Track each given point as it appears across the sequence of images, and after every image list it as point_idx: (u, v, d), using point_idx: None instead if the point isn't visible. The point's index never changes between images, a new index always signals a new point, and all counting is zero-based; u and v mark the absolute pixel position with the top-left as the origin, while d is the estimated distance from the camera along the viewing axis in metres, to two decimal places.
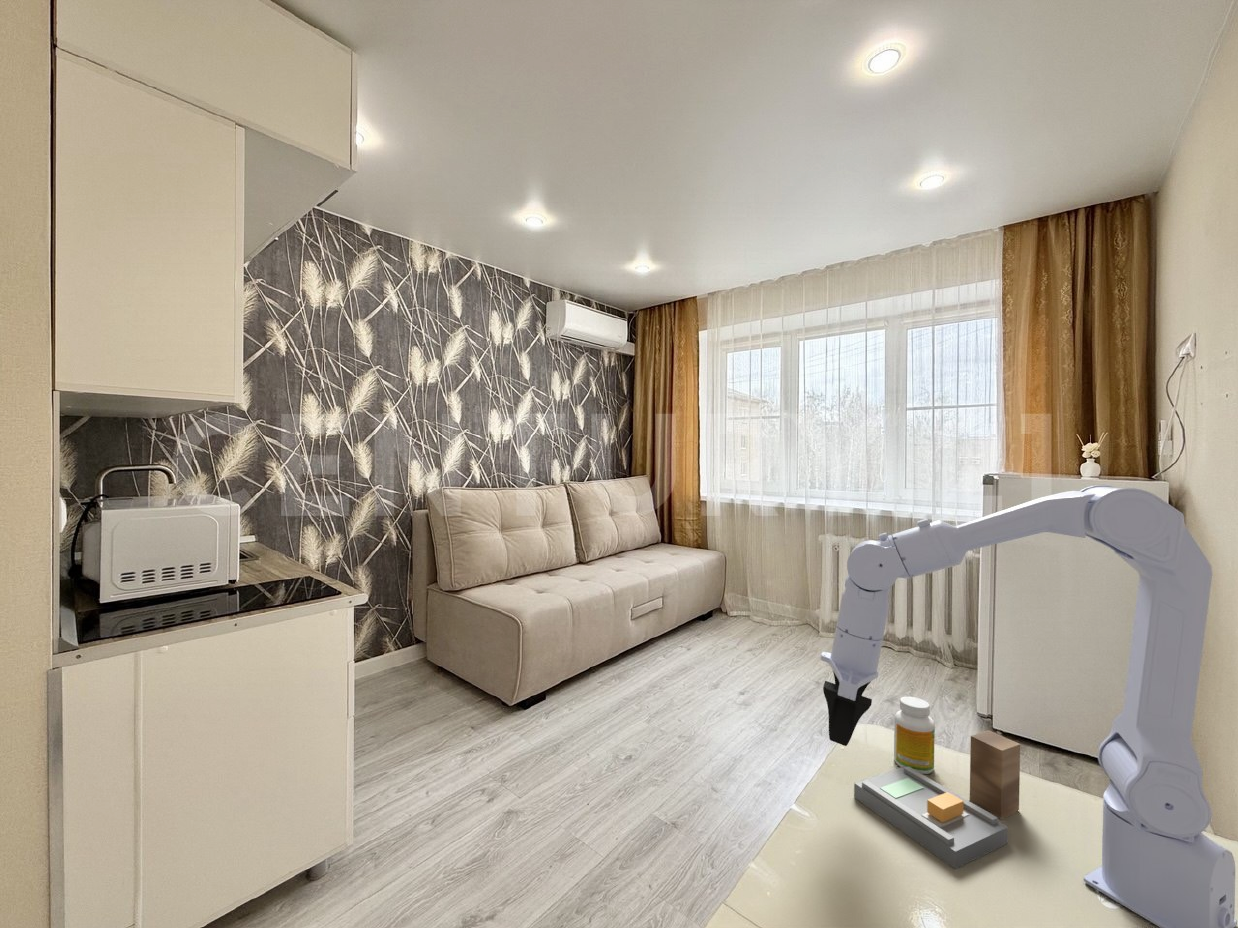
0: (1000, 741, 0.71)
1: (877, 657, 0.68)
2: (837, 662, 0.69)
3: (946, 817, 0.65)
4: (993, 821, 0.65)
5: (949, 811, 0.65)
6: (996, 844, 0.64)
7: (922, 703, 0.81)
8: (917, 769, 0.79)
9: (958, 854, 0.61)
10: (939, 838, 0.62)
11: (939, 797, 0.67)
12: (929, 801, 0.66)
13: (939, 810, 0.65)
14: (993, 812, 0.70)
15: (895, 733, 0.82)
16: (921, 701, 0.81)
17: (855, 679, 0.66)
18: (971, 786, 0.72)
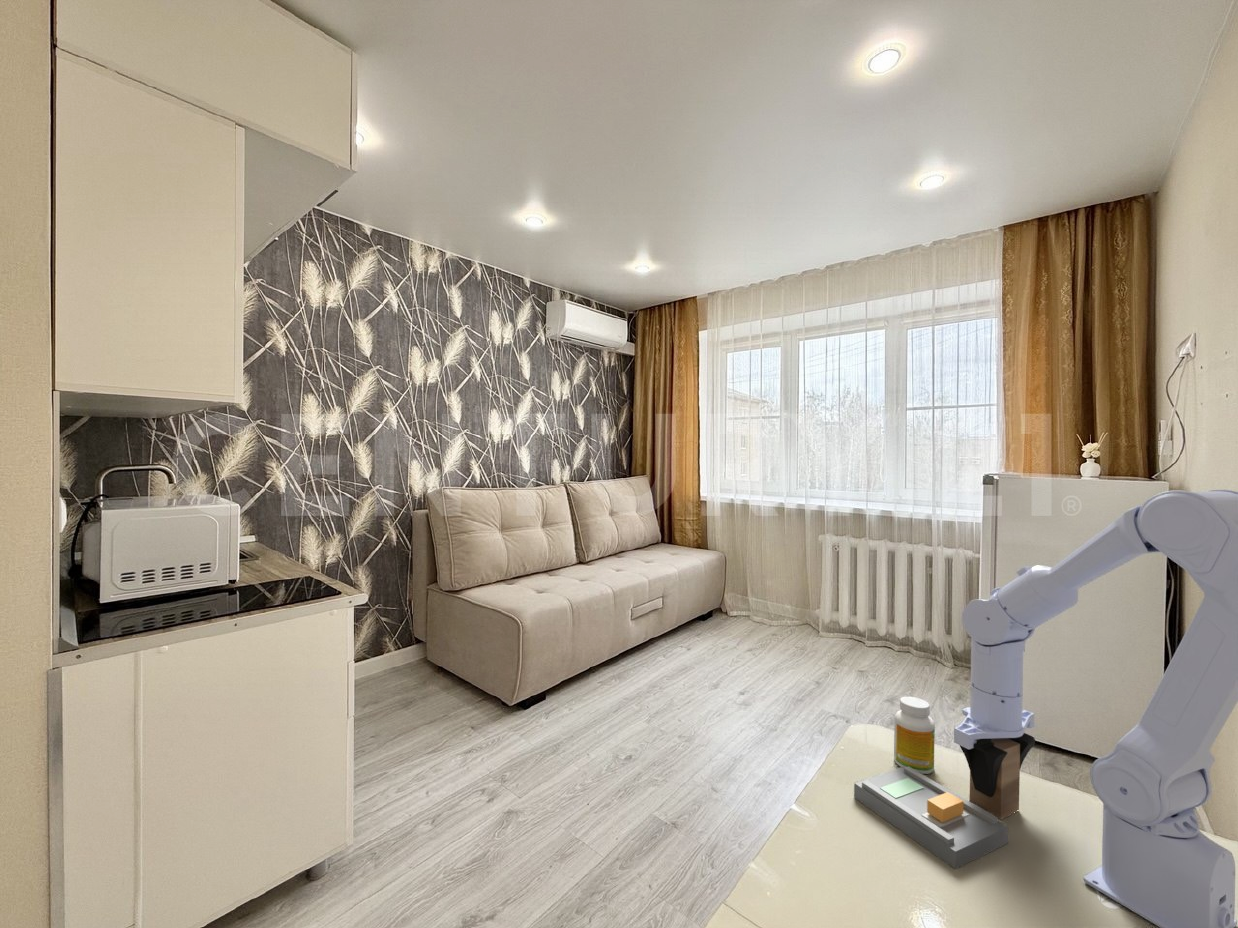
0: (1000, 741, 0.71)
1: (1011, 715, 0.69)
2: (971, 716, 0.72)
3: (946, 817, 0.65)
4: (993, 821, 0.65)
5: (949, 811, 0.65)
6: (996, 844, 0.64)
7: (921, 703, 0.81)
8: (917, 769, 0.79)
9: (958, 854, 0.61)
10: (939, 838, 0.62)
11: (939, 797, 0.67)
12: (929, 801, 0.66)
13: (939, 810, 0.65)
14: (993, 812, 0.70)
15: (895, 733, 0.82)
16: (921, 701, 0.81)
17: (978, 731, 0.69)
18: (971, 786, 0.72)
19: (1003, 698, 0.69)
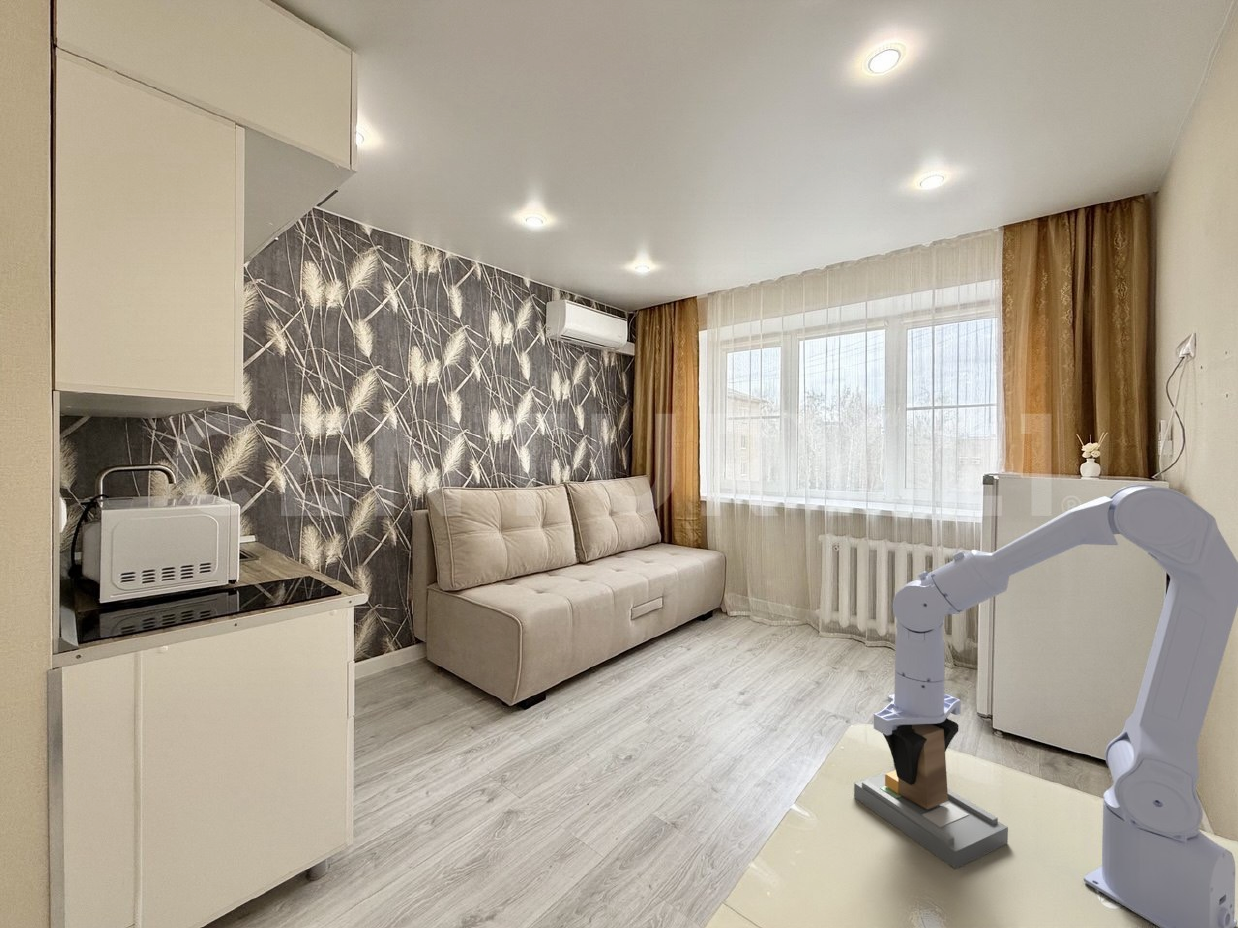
0: (924, 727, 0.69)
1: (931, 700, 0.67)
2: (894, 702, 0.71)
3: None
4: (993, 821, 0.65)
5: None
6: (996, 844, 0.64)
7: None
8: None
9: (958, 854, 0.61)
10: (939, 838, 0.62)
11: None
12: (887, 775, 0.72)
13: (895, 783, 0.71)
14: (920, 802, 0.67)
15: None
16: None
17: (897, 717, 0.67)
18: None
19: (923, 683, 0.67)
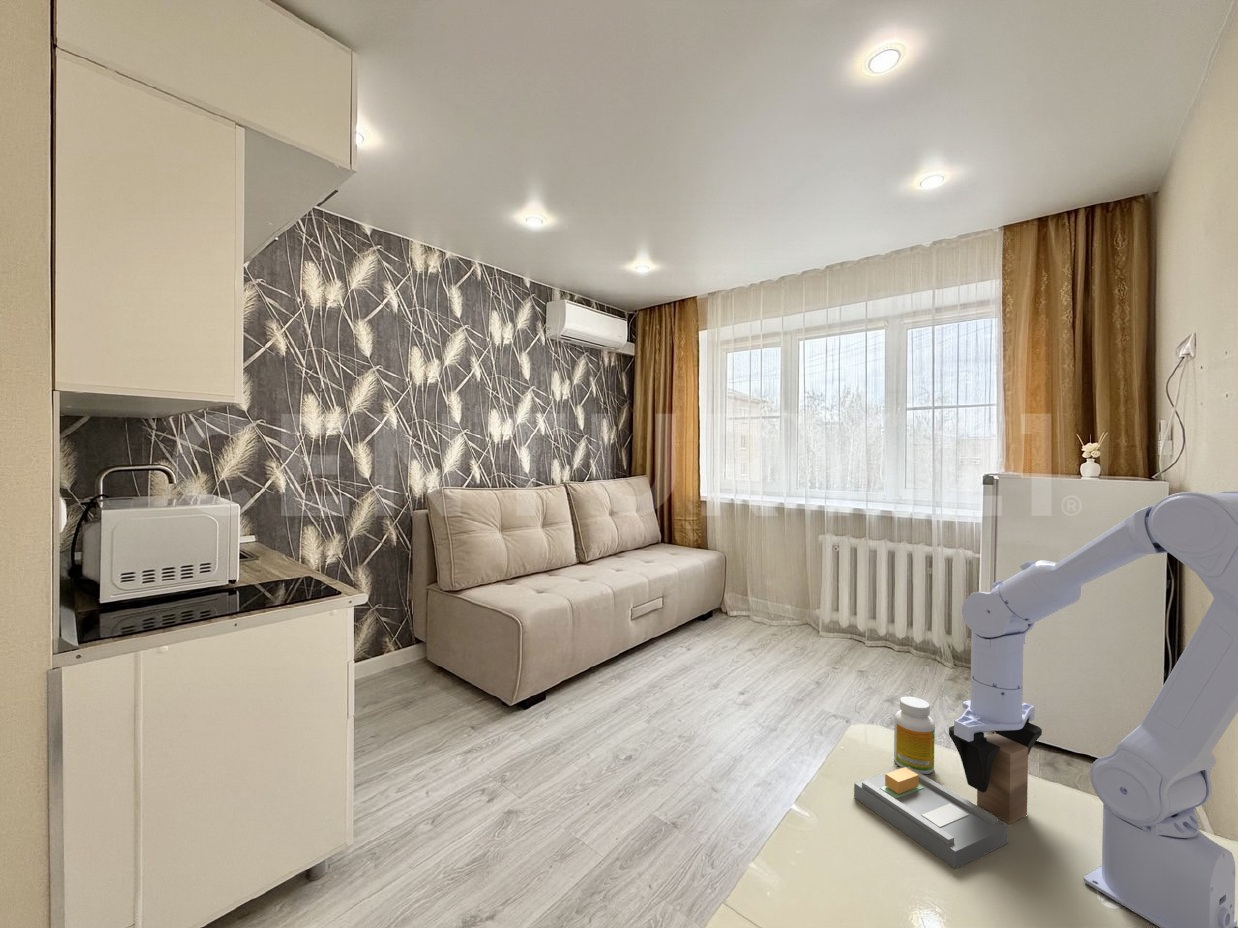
0: (1008, 744, 0.70)
1: (1011, 707, 0.69)
2: (971, 708, 0.72)
3: (902, 789, 0.70)
4: (993, 821, 0.65)
5: (904, 783, 0.71)
6: (996, 844, 0.64)
7: (922, 703, 0.81)
8: (917, 769, 0.79)
9: (958, 854, 0.61)
10: (939, 838, 0.62)
11: (896, 772, 0.72)
12: (887, 775, 0.72)
13: (895, 783, 0.71)
14: (1001, 817, 0.69)
15: (895, 733, 0.82)
16: (921, 701, 0.81)
17: (978, 724, 0.69)
18: (978, 790, 0.71)
19: (1003, 690, 0.69)
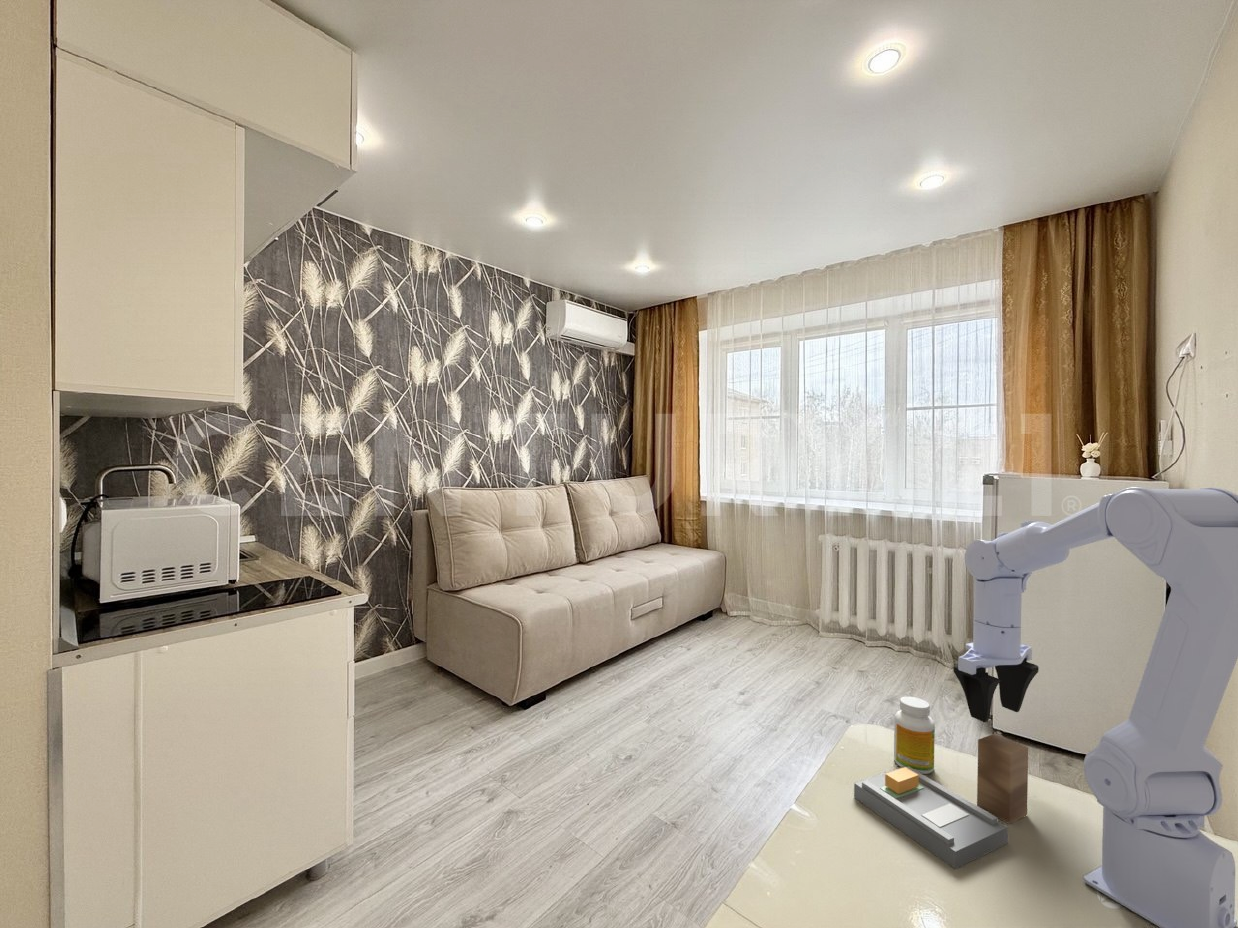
0: (1008, 745, 0.70)
1: (1011, 644, 0.75)
2: (974, 648, 0.79)
3: (902, 789, 0.70)
4: (993, 821, 0.65)
5: (904, 783, 0.71)
6: (996, 844, 0.64)
7: (922, 703, 0.81)
8: (917, 769, 0.79)
9: (958, 854, 0.61)
10: (939, 838, 0.62)
11: (896, 772, 0.72)
12: (887, 775, 0.72)
13: (895, 783, 0.71)
14: (1001, 817, 0.69)
15: (895, 733, 0.82)
16: (921, 701, 0.81)
17: (980, 659, 0.75)
18: (978, 790, 0.71)
19: (1003, 629, 0.75)
